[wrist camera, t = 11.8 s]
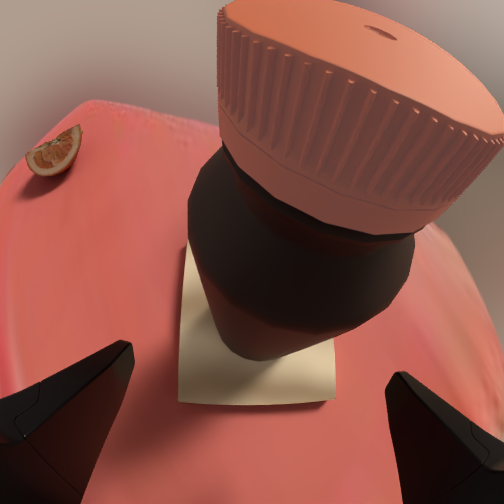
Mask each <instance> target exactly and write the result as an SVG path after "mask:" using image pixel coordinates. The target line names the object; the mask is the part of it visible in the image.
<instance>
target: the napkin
mask: <svg viewBox="0 0 504 504" xmlns="http://www.w3.org/2000/svg"><path fill="white" fill-rule="evenodd" d="M333 399H336V381H335V354H334V338H331V339H329V340H326V341H324V342H321V343H319V344H316V345H313V346H311V347H308V348H306V349H303V350H300V351H297V352H295V353H292V354H289V355H286V356H283V357H280V358H277V359H274V360H268V361H260V362H258V361H253V360H248V359H244V358H242V357H240V356H239V355H237V354H235V353H233V352H232V351H231V350H230V349H229V348H228V347H227V346H226V345H225V344H224V342H223V341H222V339H221V337H220V335H219V333H218V330H217V328H216V325H215V322H214V319H213V316H212V313H211V310H210V307H209V305H208V301H207V298H206V295H205V292H204V289H203V286H202V283H201V280H200V277H199V274H198V270H197V267H196V264H195V261H194V257H193V254H192V251H191V247H190V244H189V240H188V241H187V250H186V260H185V270H184V281H183V293H182V307H181V322H180V340H179V366H178V402H185V403H198V404H217V405H273V404H292V403H305V402H316V401H325V400H333Z"/></svg>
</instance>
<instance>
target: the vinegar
mask: <svg viewBox="0 0 504 504" xmlns="http://www.w3.org/2000/svg"><path fill="white" fill-rule="evenodd" d="M217 87H218V115H219V130H220V137H221V139H222V147H221V148H220V149H219V150H218V151H217V152H216V153H215V154H214V155H213V156H212V157H211V158H210V159H209V160H208V161H207V162H206V164H205V165H204V166H203V167H202V168H201V169H200V171H199V174H198V176H197V179H196V181H195V184H194V186H193V189H192V191H191V194H190V196H189V199H188V240H189V244H190V247H191V251H192V254H193V257H194V261H195V264H196V267H197V270H198V274H199V277H200V280H201V283H202V286H203V289H204V292H205V295H206V298H207V301H208V305H209V307H210V310H211V313H212V316H213V319H214V322H215V325H216V328H217V330H218V333H219V335H220V337H221V339H222V341H223V342H224V344H225V345H226V346H227V347H228V348H229V349H230V350H231V351H232V352H233V353H235V354H237V355H239V356H240V357H242V358H244V359H248V360H253V361H258V362H260V361H268V360H274V359H277V358H280V357H283V356H286V355H289V354H292V353H295V352H297V351H300V350H303V349H306V348H308V347H311V346H313V345H316V344H319V343H321V342H324V341H326V340H329V339H331V338H334V337H336V336H339V335H341V334H343V333H346V332H348V331H350V330H353V329H355V328H357V327H358V326H360V325H362V324H363V323H365V322H366V321H368V320H369V319H371V318H373V317H374V316H376V315H377V314H379V313H380V312H382V311H383V310H385V309H386V308H387V307H388V306H389V305H390V304H391V302H392V301H393V299H394V298H395V297H396V295H397V294H398V292H399V291H400V289H401V288H402V286H403V285H404V283H405V282H406V280H407V278H408V276H409V272H410V267H411V263H412V259H413V254H414V249H415V239H414V234H415V233H416V232H418V231H420V230H422V229H423V228H424V227H425V226H426V225H427V224H429V223H430V222H432V221H434V220H436V219H437V218H438V217H439V216H440V215H441V214H443V213H444V212H445V210H446V209H448V208H449V206H451V205H452V204H453V202H455V200H456V199H457V198H458V197H459V196H460V195H461V194H462V193H463V192H464V190H465V189H466V188H467V187H468V186H469V185H470V184H471V183H472V182H473V181H474V180H475V179H476V178H477V176H478V175H479V174H480V173H481V172H482V171H483V170H484V169H485V167H486V166H487V165H488V164H489V163H490V162H491V161H492V159H493V158H494V157H495V156H496V155H497V153H498V152H499V151H500V150H501V149H502V147H503V146H504V115H503V113H502V111H501V109H500V107H499V105H498V104H497V102H496V100H495V99H494V98H493V96H492V95H491V94H490V93H489V92H488V90H487V89H486V88H485V87H484V85H483V84H482V83H481V82H480V81H479V80H478V79H477V78H476V77H475V76H474V75H473V74H472V73H471V72H470V71H469V70H468V69H467V68H466V67H464V66H463V65H462V64H461V63H460V62H459V61H458V60H456V59H455V58H454V57H453V56H451V55H450V54H449V53H447V52H446V51H444V50H443V49H441V48H440V47H439V46H437V45H436V44H434V43H433V42H431V41H430V40H428V39H426V38H425V37H423V36H422V35H419V34H418V33H416V32H414V31H413V30H411V29H409V28H407V27H405V26H403V25H401V24H399V23H397V22H395V21H393V20H390V19H388V18H386V17H384V16H381V15H379V14H376V13H374V12H371V11H368V10H365V9H362V8H359V7H356V6H352V5H349V4H346V3H342V2H338V1H333V0H235V1H233V2H231V3H230V4H228V5H226V6H225V7H222V9H221V10H219V12H218V16H217Z"/></svg>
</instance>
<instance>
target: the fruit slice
mask: <svg viewBox="0 0 504 504" xmlns="http://www.w3.org/2000/svg"><path fill="white" fill-rule="evenodd" d="M82 133H83V131H81V127H80V124H78V125H76V126H74V127H72V128H70V129H68V130H66V131H65V132H63V133H61V134H60V135H58V137H57V138H56V139H54V140H52V141H50V142H45V143H43V144H42V145H40V146H38V147H37V148H35V149H33V150H31V151H30V152H28V153H27V154H26V155H25V157H26V161H27V165H28V167H29V169H30V170H31V171H32V172H33V173H35V174H36V175H39V176H54V175H58V174H60V173H62V172H63V171H65V170H66V169H67V168H69V167H70V166H71V165H72V163H73V162H74V160H75V159H76V157H77V154H78V151H79V148H80V145H81V141H82V137H81V135H82Z"/></svg>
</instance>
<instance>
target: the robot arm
mask: <svg viewBox="0 0 504 504" xmlns="http://www.w3.org/2000/svg"><path fill="white" fill-rule="evenodd" d="M134 365H135V359H134V353H133V346H132V343H131V342H128V341H124V340H118V341H116V342H114V343H112V344H111V345H109V346H107V347H105V348H103V349H101V350H99V351H97V352H96V353H94V354H92V355H90V356H88V357H86V358H84V359H82V360H80V361H78V362H77V363H75V364H73V365H71V366H69V367H67V368H65V369H63V370H61V371H59V372H57V373H56V374H54V375H52V376H50V377H48V378H46V379H44V380H42V381H41V382H38V383H36V384H34V385H32V386H30V387H28V388H26V389H24V390H22V391H19V392H17V393H14V394H12V395H10V396H7V397H4V398H2V399H0V504H81V501H82V498H83V497H82V496H83V495H84V492H85V490H86V487H87V485H88V482H89V479H90V477H91V474H92V472H93V469H94V467H95V464H96V462H97V459H98V457H99V455H100V452H101V450H102V448H103V445H104V443H105V440H106V438H107V436H108V434H109V431H110V429H111V427H112V424H113V422H114V420H115V418H116V416H117V413H118V411H119V409H120V407H121V404H122V402H123V399H124V396H125V393H126V390H127V386H128V383H129V380H130V377H131V374H132V371H133V368H134ZM385 398H386V405H387V413H388V421H389V428H390V433H391V438H392V443H393V447H394V452H395V457H396V463H397V468H398V474H399V480H400V486H401V493H402V500H403V504H504V442H502V441H500V440H499V439H497V438H495V437H494V436H492V435H491V434H489V433H488V432H486V431H484V430H483V429H482V428H480V427H479V426H478V425H476V424H475V423H474V422H472V421H471V420H469V419H468V418H467V417H465V416H464V415H463V414H462V413H460V412H459V411H458V410H456V409H455V408H454V407H452V406H451V405H450V404H448V403H447V402H446V401H444V400H443V399H442V398H440V397H439V396H438V395H436V394H435V393H434V392H432V391H431V390H430V389H428V388H427V387H426V386H424V385H423V384H422V383H420V382H419V381H418V380H416V379H415V378H414V377H412V376H411V375H410V374H409V373H407V372H405V371H398V372H395V373H394V374H393V376H392V378H391V379H390V381H389V383H388V384H387V386H386V388H385Z"/></svg>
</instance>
